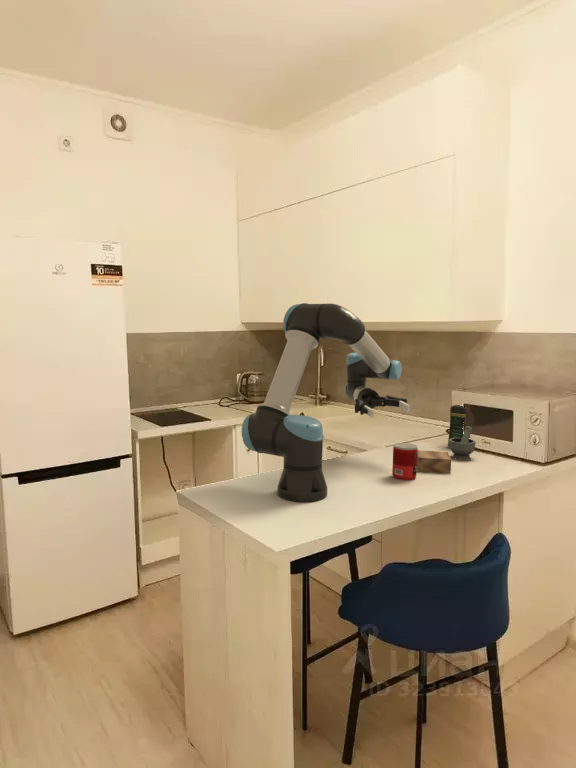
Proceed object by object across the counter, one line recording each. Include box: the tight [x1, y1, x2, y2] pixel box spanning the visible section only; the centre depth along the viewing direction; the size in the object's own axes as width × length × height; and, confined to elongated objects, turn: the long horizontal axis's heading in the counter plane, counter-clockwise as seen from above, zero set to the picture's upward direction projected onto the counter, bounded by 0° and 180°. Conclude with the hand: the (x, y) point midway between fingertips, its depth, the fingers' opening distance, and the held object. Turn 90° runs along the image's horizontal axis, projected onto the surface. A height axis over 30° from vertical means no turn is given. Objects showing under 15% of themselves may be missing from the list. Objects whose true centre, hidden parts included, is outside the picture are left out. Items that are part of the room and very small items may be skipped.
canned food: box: [391, 442, 419, 481], centre depth 182 cm, size 8×8×11 cm
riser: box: [417, 449, 452, 474], centre depth 194 cm, size 11×11×5 cm
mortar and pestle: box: [448, 426, 477, 461], centre depth 209 cm, size 11×9×12 cm
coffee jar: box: [447, 404, 466, 448], centre depth 225 cm, size 10×8×19 cm
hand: (390, 411), depth 187 cm, fingers open, 13 cm apart
